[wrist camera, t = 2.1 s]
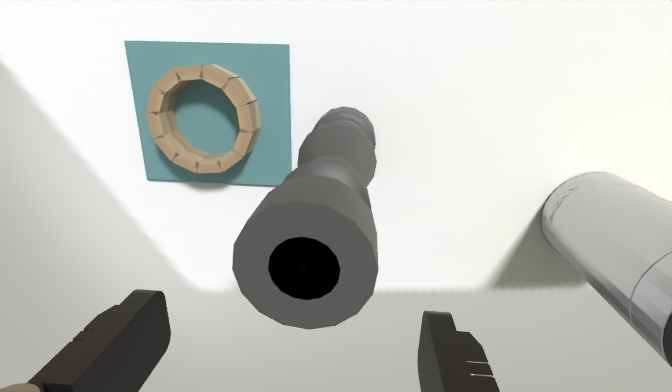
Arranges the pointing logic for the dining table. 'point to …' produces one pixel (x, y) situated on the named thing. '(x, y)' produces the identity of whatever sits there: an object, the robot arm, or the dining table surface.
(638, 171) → the dining table surface
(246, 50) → the runner mat
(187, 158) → the segmented wooden ring
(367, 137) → the candle holder
